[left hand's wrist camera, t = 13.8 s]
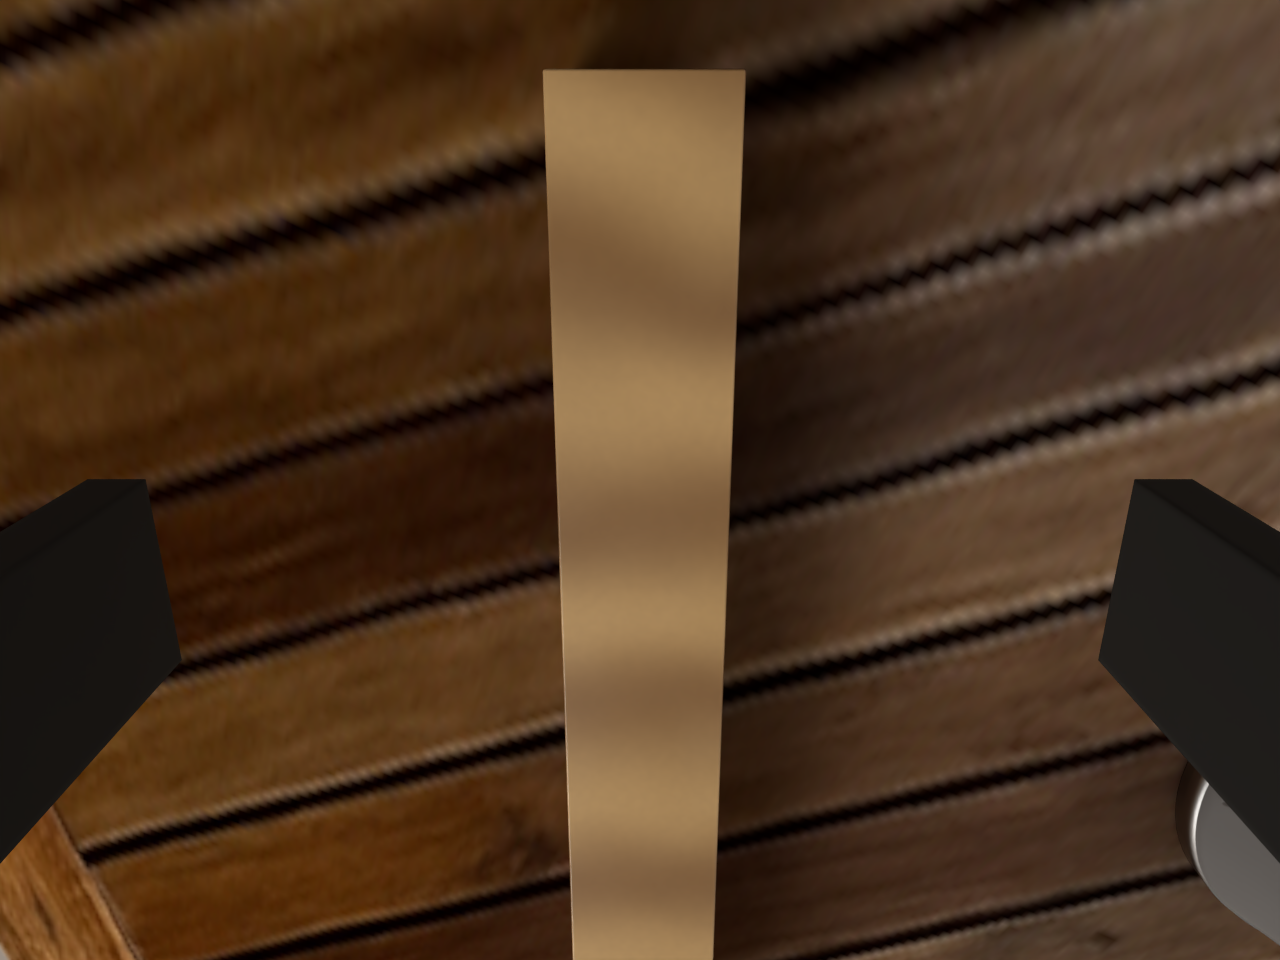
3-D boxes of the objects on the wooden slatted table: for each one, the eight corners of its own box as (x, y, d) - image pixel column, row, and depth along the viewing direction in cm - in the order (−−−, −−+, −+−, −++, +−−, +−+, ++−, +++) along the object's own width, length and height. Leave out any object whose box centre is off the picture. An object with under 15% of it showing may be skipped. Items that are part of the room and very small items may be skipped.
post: (564, 86, 33) (542, 68, 25) (721, 86, 33) (746, 68, 25) (593, 1166, 53) (585, 1336, 45) (690, 1166, 53) (699, 1336, 45)
